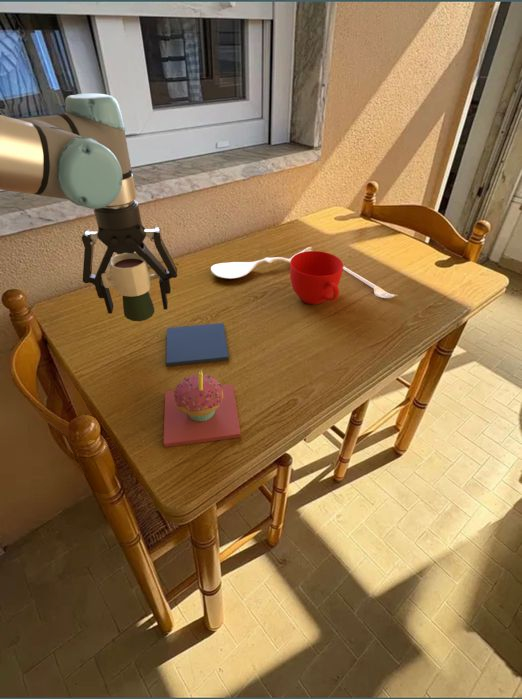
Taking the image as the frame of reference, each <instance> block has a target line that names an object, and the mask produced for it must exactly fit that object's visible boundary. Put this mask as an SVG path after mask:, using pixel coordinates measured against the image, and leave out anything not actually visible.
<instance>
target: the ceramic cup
mask: <svg viewBox="0 0 522 699" xmlns="http://www.w3.org/2000/svg"><path fill="white" fill-rule="evenodd" d="M298 253H299V254H297V253H296V254H297V255H295V254H294V255H295V256H294V255H293V256H294V257H293V256H292V257H293V258H292V257H291V258H292V259H291V261H290V263H289V277H290V283H291V287H292V289H293V292H294V293H295V294H296V296H297V297H298V298H299V299H300V300H301V301H302V302H303V303H305V304H308V305H319V304H322V303H324V302H325V301H327V302H333V301H336V300H337V299H338V298H339V295H340V288H339V284H340V282H341V277H342V274H343V270H344V269H343V267H344V263H343V261H342V260H341V258H339V257H338V256H336V255H334V254H332V253H329V252H326V251H320V250H313V251H307V252H302V253H300V252H298Z"/></svg>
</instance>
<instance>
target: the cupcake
mask: <svg viewBox="0 0 522 699" xmlns="http://www.w3.org/2000/svg"><path fill="white" fill-rule="evenodd" d="M221 385H222V384H221V383H220V380H219V381H218V380H217V379H216V378H214V377H213V376H211V375H207V374H204V373H203V369H200V371H199V372H198V374H193V375H189V376H188V377H184V378H183V380H181V381H180V382H179V383H178V384H177V386H176V387H175V389H174V390H173V391H174V400H175V403H176V406H177V409H178V410H180V411H182V412H184V413H186V414H188V415H189V416H190V418H192V419H193V420H195V421H206V420H208V419H210V418H211V417H212V416H213V415H214V413H215V410H216V409H217V408H218V407H219V405H220V403H221V402H222V400H223V390H222V386H221Z"/></svg>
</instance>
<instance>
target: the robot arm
mask: <svg viewBox="0 0 522 699" xmlns="http://www.w3.org/2000/svg"><path fill="white" fill-rule="evenodd" d="M64 101H65V112H64V113H61V114H57V115H47V116H45V115H44V116H36V117H35V116H34V117H25V118H24V117H23V118H14V117H10V116H6V115H3V114H0V191H7V192H15V193H24V194H30V195H36V196H41V197H48V198H56V199H57V198H58V199H63V200H68V201H69V202H71V203H73V204H75V205H76V206H79V207H80V206H81V207H84V208H86V209H93V213H94V217H95V222H96V225H97V229H98V230H97V231H90V230H89V229H85V230H84V231H83V233H82V235H81V241H82V244H83V247H84V252H83V253H84V254H83V266H82V267H83V268H82V282H83V283H84V284H93V285H94V288H95V291H96V294H97V297H98V298H99V299H103V301H104V304H105V307H106V311H107V314H108V315H110V314H113V311H114V302H113V298H112V294H111V291H110V288H105V286H104V284H103V281H102V277H101V275H102V274H103V273H105V272H107V269H108V266H109V262H110V259H111V258H112V257H113V256H114V253H115V254H116V255H117V254H123V253H130V254H131V253H134V252H136V253H137V254H138V255H139V256H140V257H142V258H143V259H144V260H145V261H146V262H147V264H148V265H149V266H150V267H151V268H152V269H151V270H153V272H154V271H155V272H156V273H157V274H158V275H159V278H158V279H159V280H158V283H159V284H158V285H159V289H160V290H159V291H160V296H161V302H162V308H163V310H164V311H165V310H168V306H169V305H168V303H169V302H168V295H169V294H171V290H172V286H171V279H176V278H177V277H178V268H177V265H176V263H175V262H174V260H173V257H172V255H171V254H170V252H169V250H168V248H167V246H166V244H165V242H164V240H163V238H162V229H161V227H159V226H155V227H154V228H151V229H150V228H148V229H147V228H145V227H144V225H143V223H142V216H141V212H140V207H139V202H138V201H137V200H136V199H137V197H138V196H137V191H136V185H135V180H134V174H133V171H132V164H131V159H130V153H129V148H128V142H127V135H126V127H125V124H124V121H123V115H122V111H121V109H120V105H119V102H118V100H117V99H116V98H115V97H113V95H111V94H105V93H95V92H94V93H92V92H91V93H90V92H88V93H76V94H70V95H68V96H67V97H65V100H64ZM146 237H148V239H149V240H150V241H151V242H152V243H154V246H155V249H157V252H158V254H159V256H160V258H161V259H162V262H163V264H164V265H165V266H164V265H163V264H162V263H161V261H160V260H159V259H158V258H157V257H156V256H155V255H154V254H153V253H152V252H151V250H150V249H149V247H147V244H146V243H145V242H144V241H145V239H146ZM97 240H99V241H100V242H101V243H102V244H104V246H106V249H105V252H104V254H103V256H102V259H101V260H100V264H99V266H98V267H97V268H98V269H97V271H96V273H95V274H94V273H93V260H94V248H95V245H96V244H97Z"/></svg>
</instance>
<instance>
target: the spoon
mask: <svg viewBox="0 0 522 699" xmlns="http://www.w3.org/2000/svg"><path fill="white" fill-rule="evenodd" d="M307 251H314V250H313V247H312V246H308V247H306V248H304V249H303V250H301V251H300V252H297V253H295V254H294V255H292V256H291V257H290V258H287V257H282V256H276V257H267V256H266V257H264V258H263V259H259V260H255V261H232V262H220V263H215V264H213V265H212V266H211V267H210V272H211V274H212V275H213V276H215V277H217V278H221V279H229V280H232V279H233V280H235V279H240V278H242V277H245V276H247V275H248V274H250V273H251V272H252V271H253V270H254V269H255V268H256V267H257V266H259V265H261V264H271V263H274V262H283V263H287V264H290V261H291V259H292V258H293V257H294V256H295V255H297V254H299V253H302V252H307Z"/></svg>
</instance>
